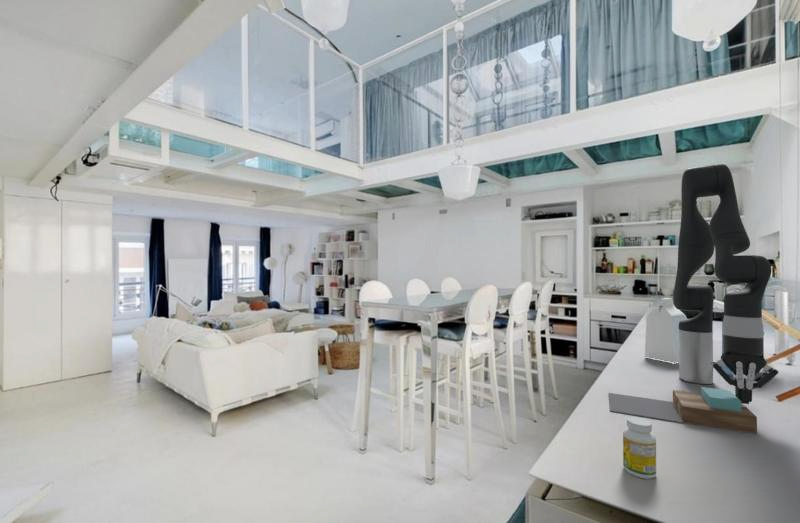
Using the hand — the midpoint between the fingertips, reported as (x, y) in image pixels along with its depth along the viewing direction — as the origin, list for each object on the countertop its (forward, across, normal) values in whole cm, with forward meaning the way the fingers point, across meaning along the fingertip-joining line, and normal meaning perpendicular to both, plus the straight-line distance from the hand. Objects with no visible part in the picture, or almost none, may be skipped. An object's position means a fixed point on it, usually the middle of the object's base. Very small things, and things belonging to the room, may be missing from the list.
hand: (743, 402), depth 93 cm
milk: (+5, +6, -68) cm, 68 cm away
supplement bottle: (+5, +26, +39) cm, 47 cm away
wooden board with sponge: (+5, +6, 0) cm, 8 cm away
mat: (+5, +22, 0) cm, 22 cm away
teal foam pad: (0, +5, 0) cm, 5 cm away
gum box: (+5, -15, -60) cm, 62 cm away
